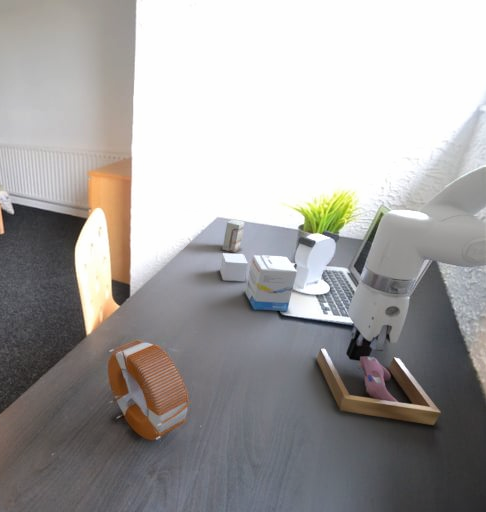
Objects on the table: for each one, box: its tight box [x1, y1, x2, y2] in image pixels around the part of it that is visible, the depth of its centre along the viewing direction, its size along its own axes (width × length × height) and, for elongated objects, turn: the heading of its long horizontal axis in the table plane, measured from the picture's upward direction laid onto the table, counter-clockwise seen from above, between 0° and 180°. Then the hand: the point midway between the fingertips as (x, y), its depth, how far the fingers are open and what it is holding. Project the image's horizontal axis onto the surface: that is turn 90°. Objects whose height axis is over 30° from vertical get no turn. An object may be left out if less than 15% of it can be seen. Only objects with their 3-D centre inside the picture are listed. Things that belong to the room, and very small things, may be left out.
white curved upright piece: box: [292, 229, 340, 296], centre depth 101 cm, size 12×11×15 cm
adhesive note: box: [219, 252, 249, 282], centre depth 109 cm, size 6×6×6 cm
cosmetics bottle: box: [222, 218, 246, 254], centre depth 125 cm, size 5×4×10 cm
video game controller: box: [356, 355, 399, 402], centre depth 68 cm, size 10×5×7 cm, turn 153°
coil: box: [107, 340, 190, 441], centre depth 61 cm, size 7×15×15 cm, turn 29°
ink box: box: [245, 254, 297, 312], centre depth 94 cm, size 9×8×12 cm
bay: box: [316, 348, 442, 426], centre depth 69 cm, size 14×14×3 cm
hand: (356, 357), depth 74 cm, fingers closed
